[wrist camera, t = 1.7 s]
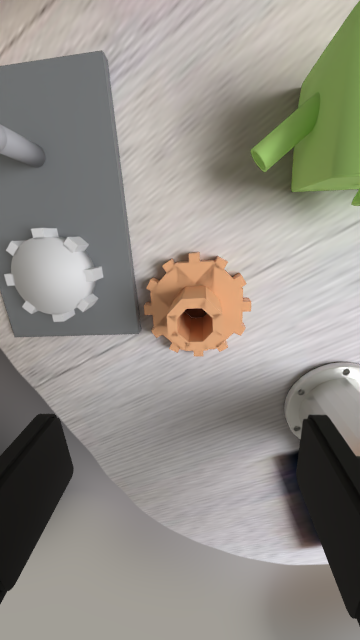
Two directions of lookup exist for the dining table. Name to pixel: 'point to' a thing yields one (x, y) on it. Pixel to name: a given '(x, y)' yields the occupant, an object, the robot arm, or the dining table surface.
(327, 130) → the gearbox
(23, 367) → the dining table surface
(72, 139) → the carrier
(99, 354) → the dining table surface
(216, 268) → the gear
